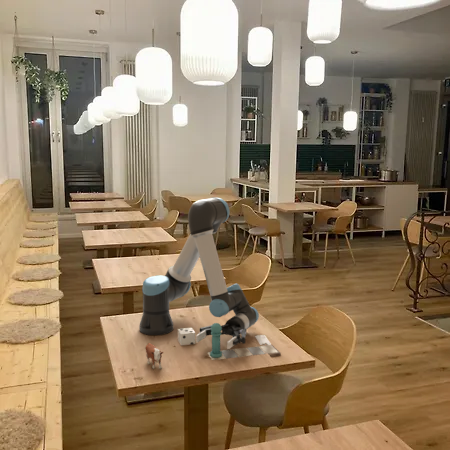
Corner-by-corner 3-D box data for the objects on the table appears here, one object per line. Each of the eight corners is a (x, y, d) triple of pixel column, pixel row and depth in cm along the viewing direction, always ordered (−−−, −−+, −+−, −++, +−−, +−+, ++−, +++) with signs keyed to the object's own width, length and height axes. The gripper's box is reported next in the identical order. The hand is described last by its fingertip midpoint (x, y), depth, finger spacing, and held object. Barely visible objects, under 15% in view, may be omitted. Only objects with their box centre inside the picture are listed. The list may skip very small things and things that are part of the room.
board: (211, 364, 186) (211, 361, 186) (204, 354, 195) (204, 351, 194) (280, 355, 194) (280, 352, 194) (271, 346, 203) (271, 344, 203)
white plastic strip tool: (262, 351, 199) (262, 348, 199) (253, 337, 214) (253, 335, 214) (274, 350, 200) (274, 347, 200) (265, 336, 215) (265, 334, 215)
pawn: (211, 358, 188) (212, 325, 186) (208, 353, 193) (208, 321, 191) (223, 357, 190) (223, 324, 188) (220, 352, 194) (220, 320, 192)
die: (180, 348, 201) (180, 333, 200) (177, 342, 206) (177, 328, 206) (195, 346, 202) (195, 332, 202) (191, 341, 208) (191, 327, 207)
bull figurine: (153, 375, 177) (153, 353, 176) (144, 360, 189) (143, 340, 188) (165, 372, 179) (165, 351, 177) (155, 358, 191) (155, 338, 189)
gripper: (264, 339, 201) (241, 358, 182) (210, 328, 212) (184, 345, 194) (264, 321, 200) (241, 338, 181) (211, 311, 211) (184, 327, 192)
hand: (212, 342), depth 187 cm, fingers open, 13 cm apart
